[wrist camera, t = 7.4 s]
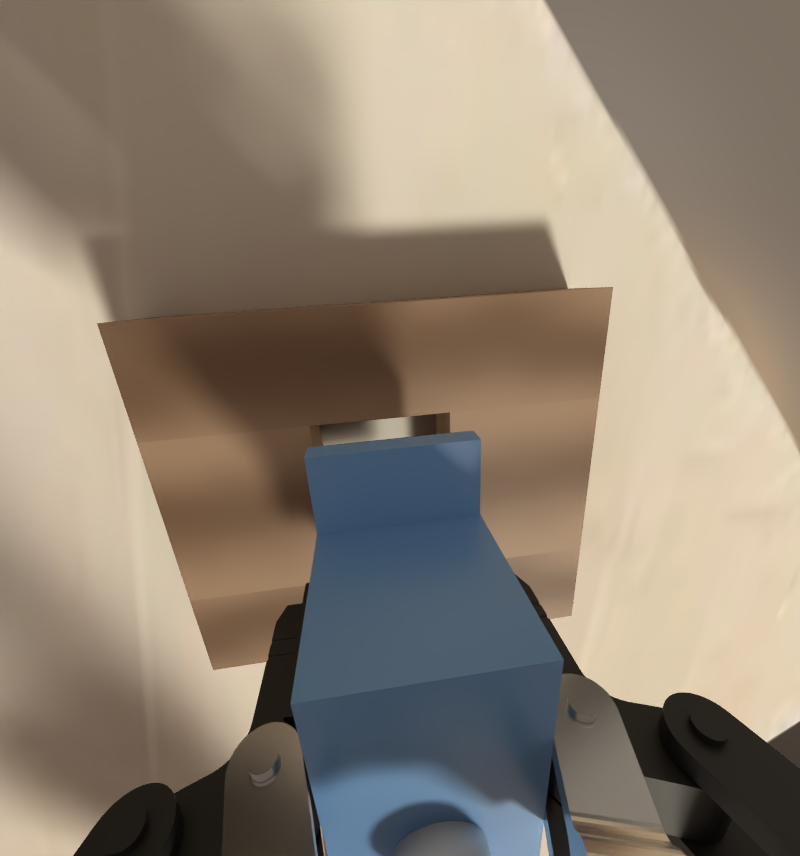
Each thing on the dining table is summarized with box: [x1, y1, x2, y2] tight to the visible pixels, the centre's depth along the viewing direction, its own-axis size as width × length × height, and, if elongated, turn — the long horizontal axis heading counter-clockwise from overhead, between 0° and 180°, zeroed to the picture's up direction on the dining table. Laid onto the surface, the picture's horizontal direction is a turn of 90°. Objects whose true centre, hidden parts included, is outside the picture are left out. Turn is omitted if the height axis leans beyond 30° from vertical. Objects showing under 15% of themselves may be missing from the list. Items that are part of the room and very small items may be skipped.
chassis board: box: [97, 287, 613, 670], centre depth 17 cm, size 16×18×3 cm
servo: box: [290, 431, 564, 856], centre depth 9 cm, size 10×4×8 cm, turn 4°
